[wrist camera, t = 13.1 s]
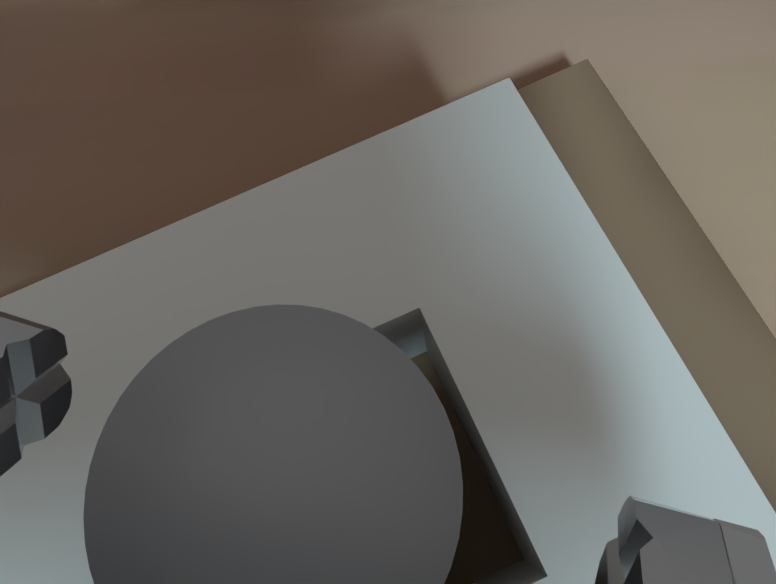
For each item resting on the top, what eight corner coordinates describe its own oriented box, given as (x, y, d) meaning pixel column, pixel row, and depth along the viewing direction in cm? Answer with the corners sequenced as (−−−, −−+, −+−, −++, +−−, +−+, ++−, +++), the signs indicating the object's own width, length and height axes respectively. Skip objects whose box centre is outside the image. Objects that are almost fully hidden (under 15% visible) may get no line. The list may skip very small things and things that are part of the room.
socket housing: (497, 163, 19) (508, 77, 15) (785, 667, 14) (905, 725, 10) (47, 361, 18) (-59, 323, 14) (197, 954, 14) (100, 1125, 10)
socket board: (581, 79, 21) (594, 36, 19) (972, 673, 15) (1048, 698, 13) (-72, 363, 20) (-127, 348, 18) (69, 1119, 14) (9, 1217, 12)
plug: (412, 391, 17) (371, 249, 7) (480, 542, 16) (534, 601, 6) (271, 455, 17) (45, 391, 7) (328, 612, 15) (143, 784, 6)
